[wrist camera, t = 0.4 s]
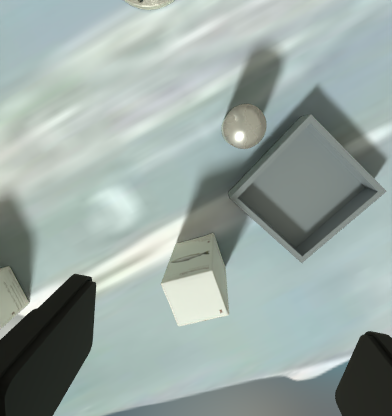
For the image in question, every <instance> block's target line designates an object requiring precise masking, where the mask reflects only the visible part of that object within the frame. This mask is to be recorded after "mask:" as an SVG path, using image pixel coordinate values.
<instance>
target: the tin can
mask: <svg viewBox="0 0 392 416" xmlns="http://www.w3.org/2000/svg"><path fill="white" fill-rule="evenodd" d="M221 131H222V136H223V138H224V139H225V141H226V142H227V143H229V144H230V145H232V146H234V147H236V148H240V149H247V148H251V147H253V146H255V145H257V144H258V143H259V142H260V141H261V140H262V138H263V137H264V134H265V132H266V119H265V116H264V114H263V113H262V111H261V110H260V109H259V108H257V107H256V106H254V105H251V104H241V105H238V106H236V107H234V108H233V109H232V110H231V111H230V112H229V113H228V114H227V116H226V117H225V119H224V121H223V123H222V127H221Z"/></svg>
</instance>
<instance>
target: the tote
mask: <svg viewBox="0 0 392 416" xmlns="http://www.w3.org/2000/svg"><path fill="white" fill-rule="evenodd" d="M385 192H386V190H385V189H384V188H383V187H382V186H381V185H380V184H379V183H378V182H377V181H376V180H375V179H374V178H373V177H372V176H371V175H370V174H369V173H368V172H367V171H366V170H365V169H364V168H363V167H362V166H361V165H360V164H359V163H358V162H357V161H356V160H355V159H354V158H353V157H352V156H351V154H350V153H349V152H348V151H347V150H346V149H345V148H344V147H343V146H342V145H341V144H340V143H339V142H338V141H337V140H336V139H335V138H334V137H333V136H332V135H331V134H330V133H329V132H328V131H327V130H326V129H325V128H324V127H323V126H322V125H321V124H320V123H319V122H318V121H317V120H316V119H315V118H314V117H313V116H312V115H311V114H310V115H305V116H301V117H300V118H299V119H298V120H297V121H296V122H295V123H294V124H293V125H292V126H291V127H290V128H289V129H288V130H287V131H286V133H285V134H284V135H283V136H282V137H281V138H280V139H279V140H278V141H277V142H276V143H275V144H274V145H273V146H272V147H271V148H270V149H269V150H268V151H267V152H266V153H265V154H264V156H263V157H262V158H261V159H260V160H259V161H258V162H257V163H256V164H255V165H254V166H253V167H252V168H251V169H250V170H249V171H248V172H247V173H246V174H245V175H244V176H243V177H242V179H241V180H240V181H239V182H238V183H237V184H236V185H235V186H234V187H233V188H232V189H231V190H230V191H229V192H228V194H229V198H230V199H231V200H232V201H233V202H234V203H235V204H236V205H238V206H239V207H240V208H241V209H242V210H243V211H244V212H245V213H246V214H248V215H249V216H250V217H251V218H252V219H253V220H254V221H255V222H257V223H258V224H259V225H260V226H261V227H262V228H263V229H264V230H265V231H267V232H268V233H269V234H270V235H271V236H272V237H273V238H274V239H276V240H277V241H278V242H279V243H280V244H281V245H282V246H283V247H284V248H286V249H287V250H288V251H289V252H290V253H291V254H292V255H293V256H295V257H296V258H297V259H298V260H299V261H300V262H301V263H302V262H304V261H305V260H306V259H307V258H308V257H310V256H311V255H312V254H313V253H314V252H316V251H317V250H318V249H319V248H320V247H321V246H323V245H324V244H325V243H326V242H327V241H329V240H330V239H331V238H332V237H333V236H334V235H336V234H337V233H338V232H339V231H340V230H342V229H343V228H344V227H345V226H346V225H347V224H349V223H350V222H351V221H352V220H353V219H355V218H356V217H357V216H358V215H359V214H360V213H362V212H363V211H364V210H365V209H366V208H368V207H369V206H370V205H371V204H372V203H373V202H375V201H376V200H377V199H378V198H379V197H381V196H382V195H383V194H384V193H385Z"/></svg>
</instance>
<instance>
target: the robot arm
mask: <svg viewBox="0 0 392 416" xmlns="http://www.w3.org/2000/svg"><path fill="white" fill-rule="evenodd" d="M124 1H125V2H127V3H128V4H130V5H131V6H134V7H136V8H139V9H145V10H154V9H159V8H162V7H165V6H167V5H169V4H170V3H172V2H173V1H174V0H143V2H142V3H141V1H142V0H124ZM95 296H96V283H95V282H92V278H91V277H89V276H84V275H79V274H73V275H72V276H71V277H70V278H69V279H68V280H67V281H66V282H65V283H64V284H63V285H62V286H60V287H59V288H58V289H57V290H56V291H55V292H54V293H53V294H52V295H51V296H50V297H49V298H48V299H47V300H46V301H45V302H44V303H43V304H42V305H41V306H40V307H39V308H38V309H34V310H32V311H31V312H30V313H28V314H27V315H26V316H25V317H24V318H23V319H22V320H21V321H20V322H19V323H18V324H17V325H16V326H15V327H14V328H13V329H11V330H10V331H9V332H8V333H7V334H6V335H5V336H4V337H3V338H2V339H1V340H0V416H53V414H54V412H55V411H56V409H57V407H58V406H59V404H60V402H61V400H62V399H63V397H64V395H65V394H66V392H67V390H68V388H69V387H70V385H71V383H72V382H73V380H74V378H75V376H76V375H77V373H78V371H79V370H80V368H81V366H82V364H83V363H84V361H85V359H86V358H87V356H88V354H89V352H90V350H91V347H92V342H93V327H94V311H95ZM335 399H336V403H337V405H338V408H339V410H340V412H341V414H342V416H392V338H391V337H390V336H389V335H386V334H382V333H377V332H371V331H368V332H366V333H365V334H364V335H362V336H361V337H360V338H359V341H358V343H357V345H356V347H355V349H354V352H353V354H352V356H351V358H350V361H349V363H348V365H347V367H346V370H345V372H344V374H343V376H342V378H341V381H340V383H339V385H338V387H337V390H336V393H335Z"/></svg>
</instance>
